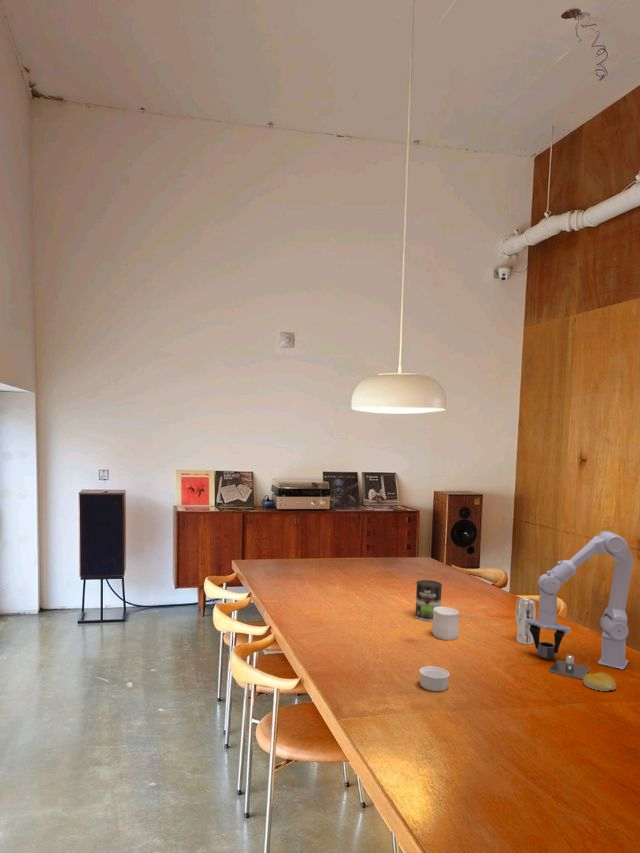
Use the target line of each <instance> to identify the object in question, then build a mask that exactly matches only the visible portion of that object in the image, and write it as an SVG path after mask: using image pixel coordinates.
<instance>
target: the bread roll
mask: <svg viewBox="0 0 640 853" xmlns="http://www.w3.org/2000/svg"><path fill="white" fill-rule="evenodd" d="M582 681H583V684H584V686H585V687H586V686H587V687H586V688H588V687H589V688H588V689H590V688H592V689H591V690H593V689H595V690H594V691H597V690H600V691H599V692H602V691H607V692H610V691H609V690H613V691H615V690H616V689H617V684H616V683H617V682H616V681H615V679H614V678H613V677H612V676H611V675H609V674H607V673H605V672H602V671H599V672H598V671H597V672H596V673H587V674H586V675H585V676H584V678H583V680H582ZM614 689H615V690H614Z"/></svg>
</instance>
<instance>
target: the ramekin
mask: <svg viewBox="0 0 640 853" xmlns="http://www.w3.org/2000/svg"><path fill="white" fill-rule="evenodd" d="M418 672H419V683H420V684H419V685H420V686H421V687H422V688H423V689H426V690H427V691H432V692H443V691H445V690H447V688H448V684H449V677H450V672H449V670H446V669H445V668H442V667H438V666H434V665H432V666H429V665H428V666H423V667H421V668H419V671H418Z"/></svg>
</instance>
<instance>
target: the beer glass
mask: <svg viewBox="0 0 640 853" xmlns="http://www.w3.org/2000/svg"><path fill="white" fill-rule="evenodd" d="M515 604H516V605H515V606H516V607H515V620H516V627H517V631H516V632H517V634H516V637H515V640H516V642H517V643H519V644H523V645H533V644H534V643H535V642H534V639H533V636H532V634H531V632H530V629H529V628H530V625H528V626H527V625H525V619H527V618H528V619H535V620H536V617H537V616H536V615H537V611H536V610H537V608H536V606H537V605H536V601H535V600H533V599H530V598H525V597H524V598H517V599H516V603H515Z"/></svg>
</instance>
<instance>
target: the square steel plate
mask: <svg viewBox="0 0 640 853" xmlns="http://www.w3.org/2000/svg"><path fill="white" fill-rule="evenodd" d="M590 670H591V667H590V666H586V665H582V664H577V663H575V655H573V654H566V655H565V660H561V659H557V660H556V661H555V662H554V663H553V664H552V665H551V666H550V668H549V669H548V673H552V672H553V674H556V673H557V675H560V674H562V675H561V676H564V675H566V676H565V677H568V676H570V677H569V678H572V677H574V678H573V679H576V678H578V679H577V680H579V679H583V678H584V676H585V675H587V674H588V673H589V671H590ZM587 672H588V673H587Z"/></svg>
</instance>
